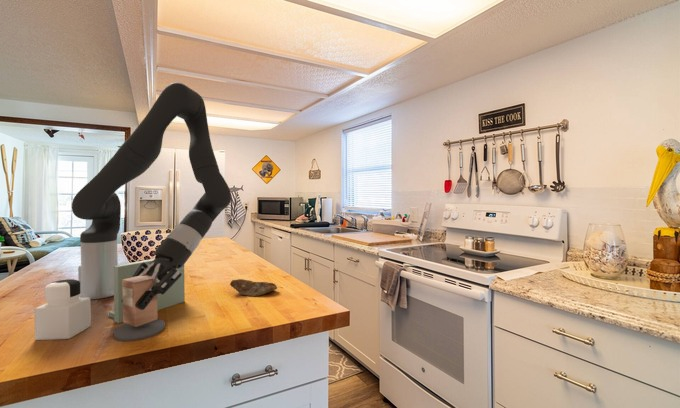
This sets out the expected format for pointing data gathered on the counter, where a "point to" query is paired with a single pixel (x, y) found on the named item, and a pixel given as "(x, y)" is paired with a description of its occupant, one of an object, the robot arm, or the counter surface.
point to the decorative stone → (252, 287)
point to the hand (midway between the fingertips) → (131, 305)
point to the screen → (163, 300)
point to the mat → (139, 331)
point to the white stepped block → (62, 311)
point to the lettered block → (132, 294)
